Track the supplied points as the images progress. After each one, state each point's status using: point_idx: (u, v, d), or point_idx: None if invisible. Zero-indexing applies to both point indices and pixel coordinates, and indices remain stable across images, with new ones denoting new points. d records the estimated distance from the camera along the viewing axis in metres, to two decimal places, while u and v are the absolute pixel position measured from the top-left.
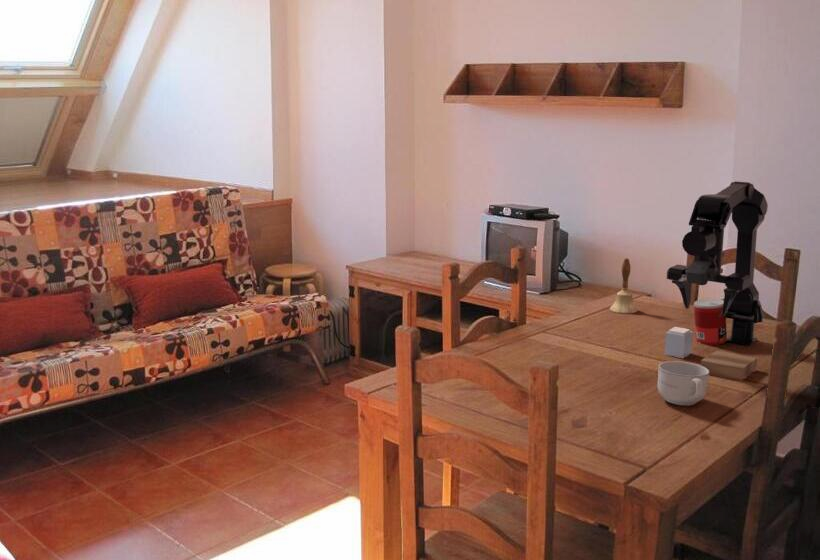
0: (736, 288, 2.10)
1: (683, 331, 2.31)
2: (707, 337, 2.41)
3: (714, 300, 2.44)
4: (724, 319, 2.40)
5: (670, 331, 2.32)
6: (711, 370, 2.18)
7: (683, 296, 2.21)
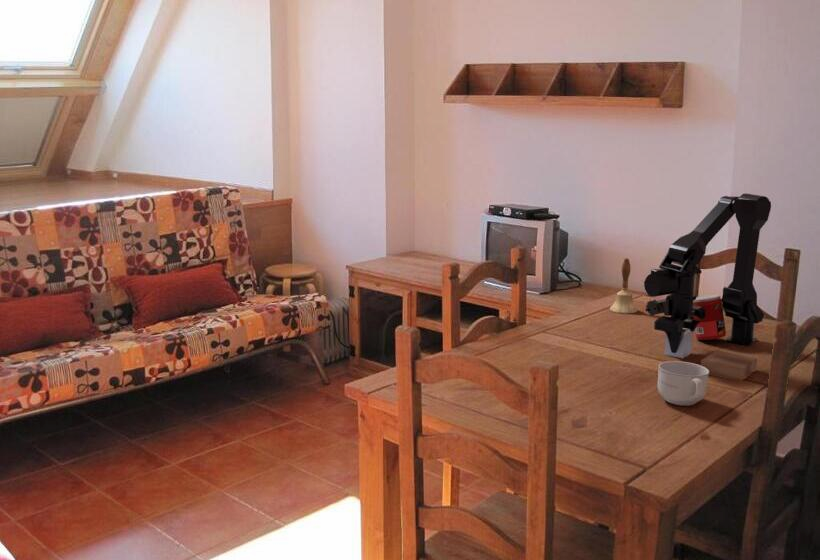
0: None
1: None
2: (706, 331, 2.41)
3: (710, 296, 2.46)
4: (721, 312, 2.42)
5: None
6: (711, 370, 2.18)
7: None
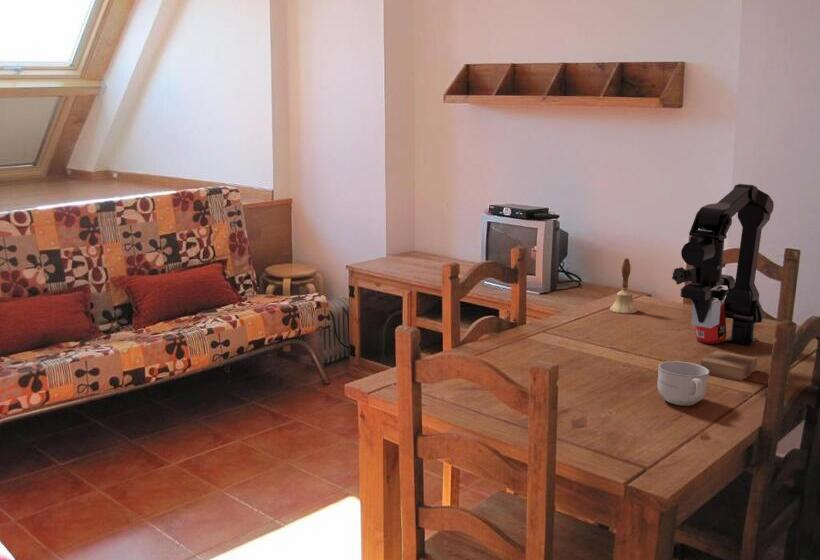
0: None
1: None
2: (707, 335, 2.41)
3: None
4: (724, 317, 2.40)
5: None
6: (711, 370, 2.18)
7: None
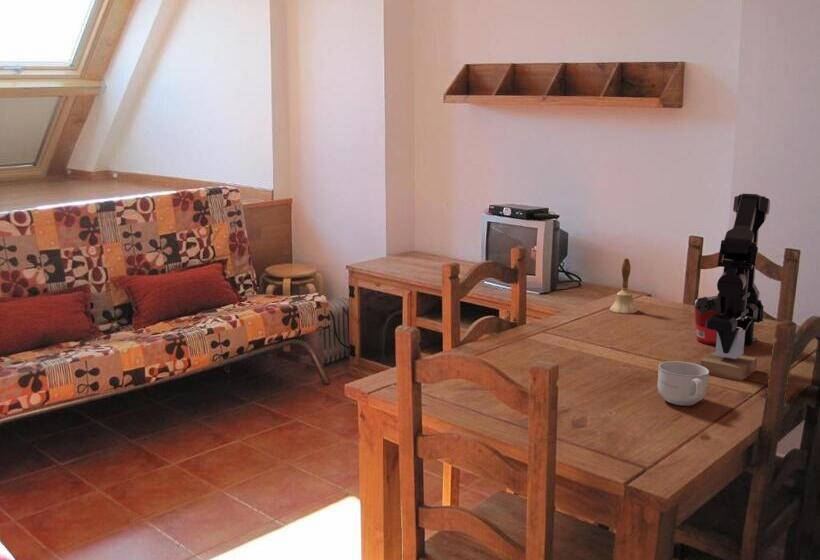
0: None
1: None
2: (707, 336, 2.41)
3: None
4: None
5: None
6: (711, 370, 2.19)
7: None
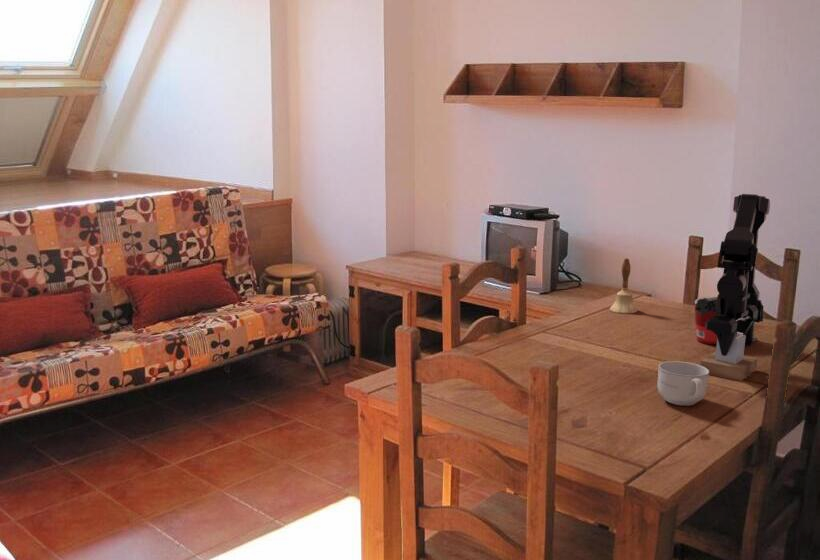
0: None
1: (736, 335, 2.17)
2: (707, 336, 2.41)
3: None
4: None
5: None
6: (711, 371, 2.19)
7: None
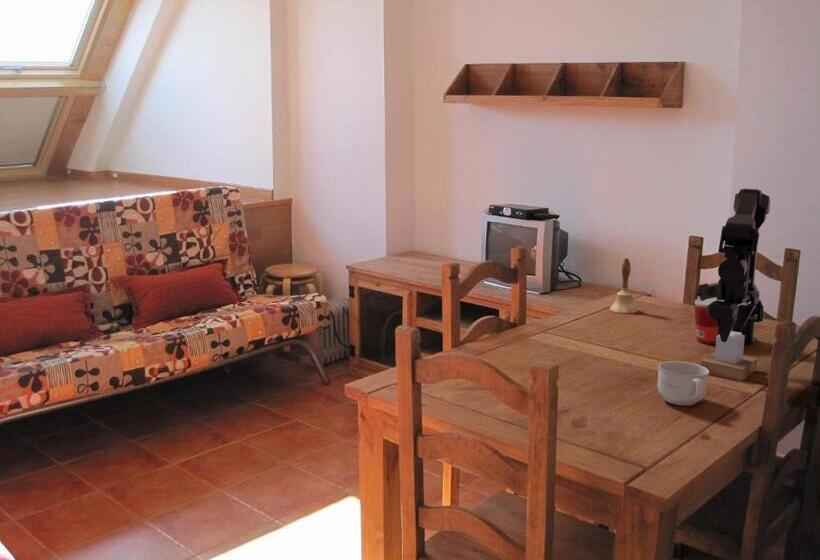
0: None
1: (735, 335, 2.17)
2: (707, 336, 2.41)
3: (715, 298, 2.43)
4: None
5: None
6: (711, 371, 2.19)
7: None
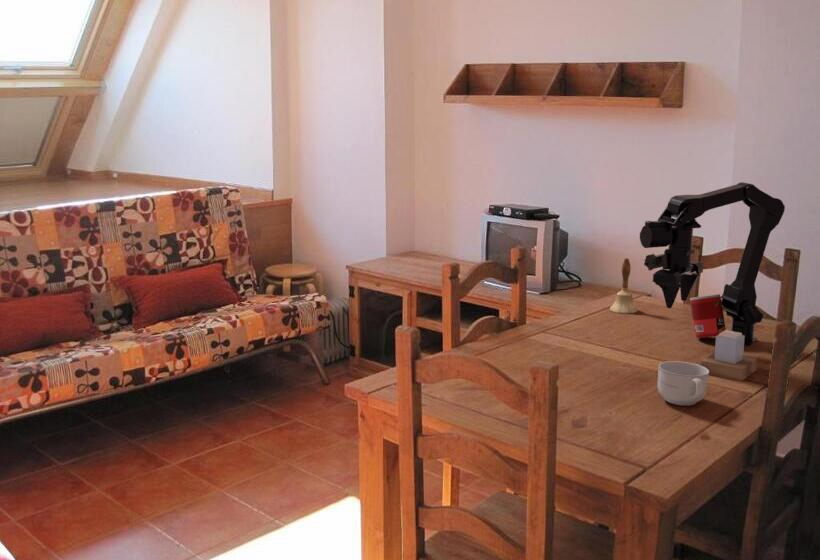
0: None
1: (734, 335, 2.17)
2: (706, 328, 2.41)
3: None
4: (721, 310, 2.42)
5: (720, 335, 2.18)
6: (711, 371, 2.19)
7: None
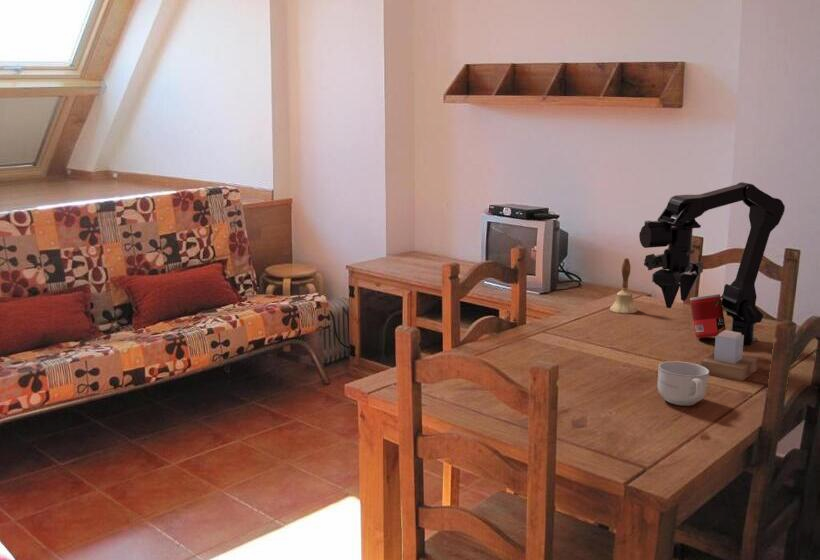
0: None
1: (734, 335, 2.18)
2: (706, 328, 2.41)
3: None
4: (721, 310, 2.42)
5: (720, 335, 2.19)
6: (712, 371, 2.18)
7: None
